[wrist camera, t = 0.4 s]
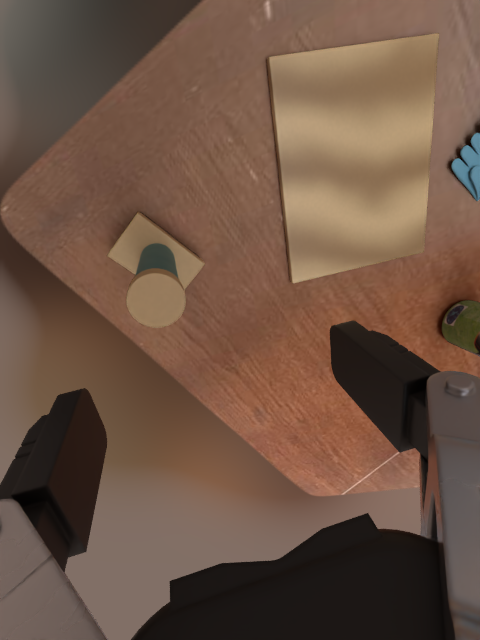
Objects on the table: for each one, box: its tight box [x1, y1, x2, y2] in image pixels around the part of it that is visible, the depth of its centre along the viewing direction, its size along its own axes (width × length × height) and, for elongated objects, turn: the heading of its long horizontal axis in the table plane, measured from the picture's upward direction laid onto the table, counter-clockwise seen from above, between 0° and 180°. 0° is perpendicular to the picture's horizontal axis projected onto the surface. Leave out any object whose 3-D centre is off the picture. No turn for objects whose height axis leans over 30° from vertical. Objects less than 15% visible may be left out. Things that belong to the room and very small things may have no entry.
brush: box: [107, 212, 205, 328], centre depth 26 cm, size 7×5×14 cm, turn 50°
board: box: [266, 33, 439, 283], centre depth 33 cm, size 20×16×1 cm
